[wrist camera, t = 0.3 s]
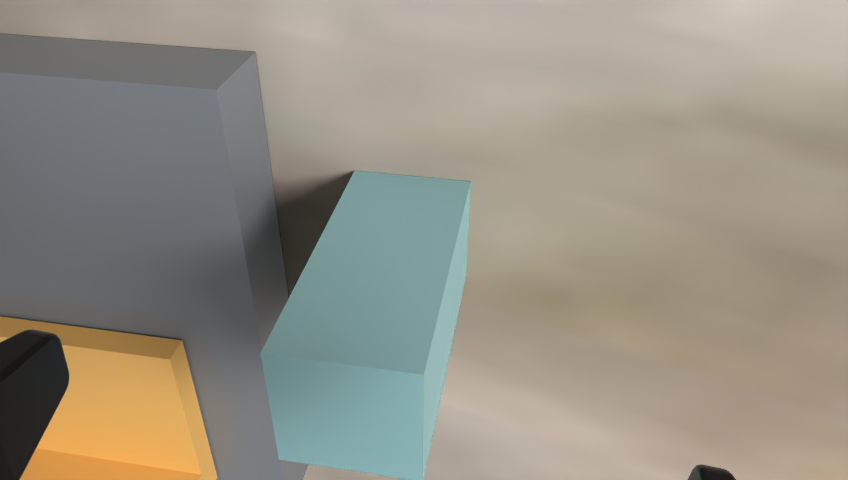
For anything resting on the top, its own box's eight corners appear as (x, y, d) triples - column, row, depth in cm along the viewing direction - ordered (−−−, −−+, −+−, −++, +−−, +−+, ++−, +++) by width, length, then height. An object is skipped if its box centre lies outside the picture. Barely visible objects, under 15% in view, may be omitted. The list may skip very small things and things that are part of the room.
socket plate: (310, 458, 34) (289, 513, 32) (42, 418, 36) (3, 467, 34) (255, 51, 23) (216, 89, 20) (-134, 24, 25) (-212, 55, 22)
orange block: (217, 477, 31) (181, 551, 28) (48, 450, 32) (-3, 519, 29) (182, 340, 26) (134, 413, 24) (-15, 314, 27) (-82, 380, 25)
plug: (466, 276, 26) (423, 481, 19) (360, 264, 27) (279, 459, 20) (470, 181, 24) (424, 375, 17) (354, 170, 25) (260, 353, 17)
